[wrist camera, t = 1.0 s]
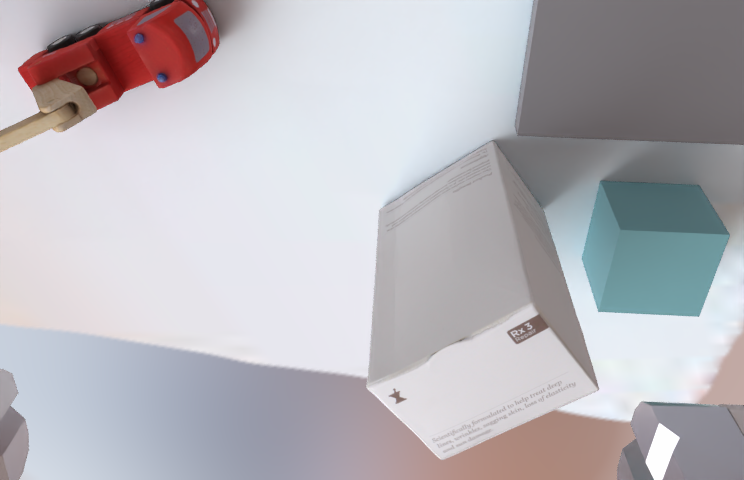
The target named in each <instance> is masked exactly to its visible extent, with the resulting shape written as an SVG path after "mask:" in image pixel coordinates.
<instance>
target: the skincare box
mask: <svg viewBox="0 0 744 480" xmlns="http://www.w3.org/2000/svg"><path fill="white" fill-rule="evenodd" d="M366 387H367V389H368V390H369V391H370V392H372V393H373V394H374V395H375V396H376V397H377V398H378V399H379V400H380V401H381V402H382V403H383V404H384V405H385V406H386V407H387V408H389V410H391V411H392V412H393V413H394V414H395V415H396V416H397V417H398V418H399V419H400V420H401V421H402V422H403V423H404V424H405V425H406V426H408V427H409V428H410V429H411V430H412V431H413V432H414V433H415V434H416V435H417V436H418V437H419V438H420V439H421V440H422V441H423V442H424V444H425V445H426V446H427V447H428V448H429V449H430V450H431V451H432V452H433V453H434V454H435V455H436V456H437V457H438V458H439V459H441V460H444V459H447V458H448V457H451V456H453V455H456V454H458V453H460V452H462V451H464V450H466V449H469V448H471V447H473V446H475V445H477V444H480V443H482V442H484V441H486V440H488V439H490V438H493V437H495V436H497V435H499V434H501V433H504V432H506V431H508V430H510V429H512V428H515V427H517V426H519V425H522V424H524V423H526V422H528V421H530V420H533V419H535V418H537V417H539V416H542V415H544V414H546V413H548V412H551V411H553V410H555V409H557V408H560V407H562V406H564V405H566V404H569V403H571V402H573V401H575V400H578V399H580V398H582V397H585V396H587V395H589V394H592V393H594V392H596V391H598V390H599V387H598V384H597V380H596V376H595V373H594V370H593V366H592V363H591V360H590V357H589V354H588V350H587V347H586V344H585V340H584V336H583V333H582V330H581V327H580V324H579V321H578V318H577V316H576V313H575V309H574V306H573V303H572V299H571V296H570V293H569V290H568V287H567V284H566V280H565V277H564V274H563V271H562V268H561V264H560V261H559V258H558V255H557V251H556V248H555V245H554V242H553V239H552V236H551V233H550V229H549V226H548V223H547V219H546V216H545V213H544V211H543V209H542V208H541V206H540V205H539V204H538V202H537V201H536V199H535V198H534V196H533V195H532V194H531V192H530V191H529V189H528V188H527V187H526V185H525V184H524V182H523V181H522V180H521V178H520V177H519V175H518V174H517V172H516V171H515V170H514V168H513V167H512V165H511V164H510V163H509V161H508V160H507V158H506V157H505V156H504V154H503V153H502V151H501V150H500V148H499V147H498V145H497V144H496V143H495V142H494V141H491V142H489V143H487V144H486V145H484V146H482V147H481V148H479V149H477V150H476V151H474V152H472V153H471V154H469V155H467V156H466V157H464V158H462V159H461V160H459V161H457V162H456V163H454V164H453V165H451V166H449V167H448V168H446V169H444V170H443V171H441V172H439V173H438V174H436V175H435V176H433V177H431V178H430V179H428V180H426V181H425V182H423V183H422V184H420V185H418V186H417V187H415V188H413V189H412V190H410V191H409V192H407V193H406V194H404V195H403V196H401V197H400V198H399V199H397V200H395V201H393V202H392V203H390V204H388V205H386V206H385V207H383V208H381V209H380V210H379V219H378V236H377V251H376V268H375V282H374V297H373V311H372V326H371V341H370V354H369V368H368V379H367V386H366Z"/></svg>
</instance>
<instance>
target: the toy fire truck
mask: <svg viewBox="0 0 744 480" xmlns="http://www.w3.org/2000/svg"><path fill="white" fill-rule="evenodd" d="M76 40H77V41H78V42H76V43H75V40H74V38H73V37H72V36H71V35H67V36H64V37H62V38H60V39H58V40H57V41H55V42H53V43H52V44H50V45H49V46H48V50H44V51H41V52H39V53H37V54H35V55H33V56H32V57H31V58H30V59H28V60H27V61H26V62H24V64H23V65H22V66H20V67H19V68H18V71H19V73H20V74H21V76H22V77H23V79H24V80H25V82H26V83H27V84H28V86H29V87H30V89H31V91H32V92H33V94H34V97H35V99H36V102H37V105H38V107H39V110H40V112H39V113H37V114H35V115H33V116H31V117H29V118H27V119H25V120H23V121H21V122H18V123H16V124H14V125H12V126H10V127H8V128H5V129H3V130H1V131H0V152H2V151H4V150H6V149H8V148H10V147H13V146H15V145H17V144H20V143H21V142H23V141H26V140H28V139H30V138H32V137H34V136H36V135H38V134H41V133H43V132H45V131H47V130H49V129H51V128H52V129H53V130H54V131H56V132H63V131H65V130H67V129H68V128H70V127H72V126H74V125H76V124H77V123H79V122H81V121H82V120H84V119H85V118H87V117H89V116H91V115H92V114H94V113H95V112H96V111H97V110H98V109H101V108H103V107H105V106H107V105H109V104H111V103H113V102H115V101H118V100H119V98H120V97H121V96H122V94H123V92H125V91H128V90H130V89H133V88H136V87H138V86H140V85H143V84H145V83H148V82H150V81H153V80H154V81H155V83H156V84H157V86H158V87H159V88H165V87H167V86H170V85H172V84H175V83H177V82H180V81H182V80H184V79H186V78H187V77H189V76H190V75H192V74H193V73H195V72H196V71H197V70H198V69H199V68H201V67H202V66H203V65H204V64H205V63H207V62H208V60H209V59H210V58H211V56H212V55H213V54H214V53H215V51H216V50H217V48H218V46H219V34H218V29H217V25H216V23H215V20H214V17H213V15H212V13H211V11H210V10H209V8H208V7H207V5H206V4H205V2H204V1H203V0H154V1H152V2H151V3H150V7H146V8H144V9H142V10H140V11H137V12H134V13H132V14H130V15H128V16H125V17H123V18H120V19H119V20H116V21H113V22H111V23H109V24H107V25H106V26H105V27H103V28H102V27H101V26H100V25H99V24H97V25H93V26H90V27H88V28H86V29H84V30H83V31H81V32H79V33H78V34H76Z"/></svg>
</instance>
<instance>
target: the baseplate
mask: <svg viewBox="0 0 744 480" xmlns="http://www.w3.org/2000/svg"><path fill="white" fill-rule="evenodd" d="M515 128H516V132H517V136H541V137H565V138H590V139H615V140H640V141H665V142H689V143H714V144H739V145H744V0H533V7H532V14H531V21H530V27H529V34H528V41H527V47H526V54H525V61H524V67H523V74H522V81H521V88H520V94H519V101H518V108H517V114H516V121H515Z"/></svg>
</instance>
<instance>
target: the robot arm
mask: <svg viewBox="0 0 744 480" xmlns="http://www.w3.org/2000/svg"><path fill="white" fill-rule="evenodd" d="M17 394H18V390H17V387H16V384H15V381H14V378H13V375H12V373H10V372H8V371H6V370H4V369H0V480H19V479H20V477H21V475H22V473H23V470H24V466H25V462H26V458H27V454H28V450H29V448H28V447H29V444H28V443H29V439H28V429H27V425H26V421H25V419H24V417H22V416H21V415H20V414H19V413H18V412H17V411H15V409H13V408H12V407H11V406H10V405H11V404H12V402H13V400H14V399H15V397H16V396H17ZM631 427H632V429H633V432H634V434H635V437H636V439H635V440H633V441H632V442H631V443H630V444H628V445H627V446H626V447H624V448H623V449H622V453H621V456H620V460H619V464H618V469H617V480H744V405H724V404H720V405H710V404H687V403H664V402H641V403H640V404H639V405H638V407H637V408H636V409H635V412H634V415H633V418H632V421H631Z"/></svg>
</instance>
